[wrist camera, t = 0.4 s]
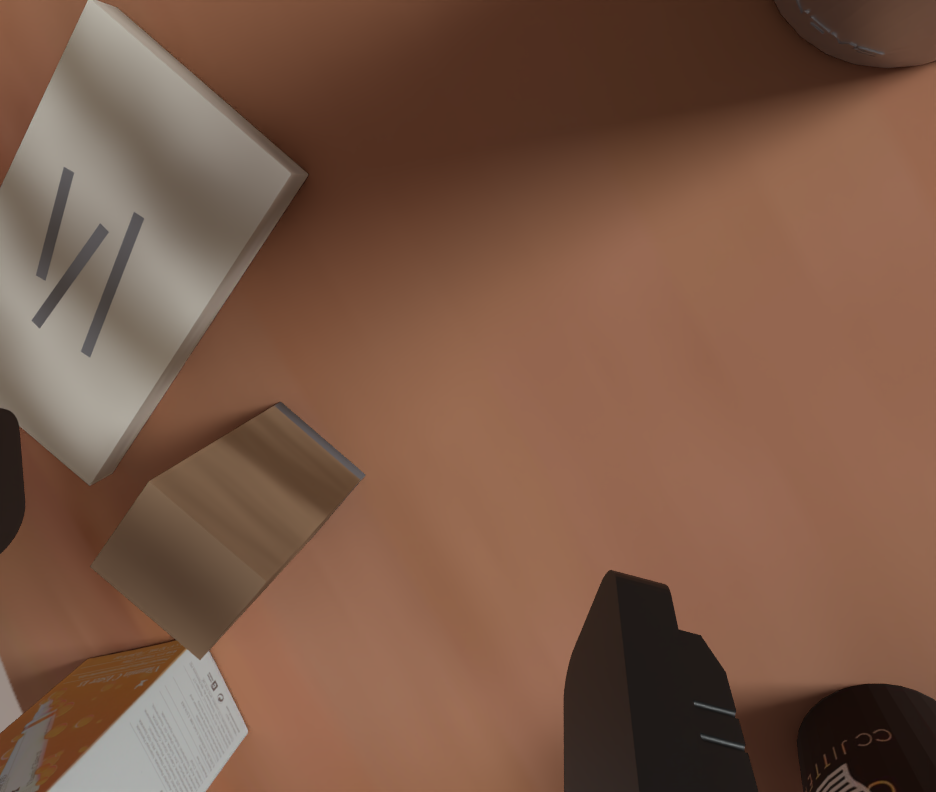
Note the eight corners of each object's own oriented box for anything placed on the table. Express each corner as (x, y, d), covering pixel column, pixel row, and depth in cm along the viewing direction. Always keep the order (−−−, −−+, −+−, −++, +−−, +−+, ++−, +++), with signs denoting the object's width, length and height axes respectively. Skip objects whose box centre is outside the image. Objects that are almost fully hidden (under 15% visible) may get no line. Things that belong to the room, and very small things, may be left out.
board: (117, 7, 27) (89, -3, 26) (308, 174, 27) (291, 173, 26) (-45, 339, 34) (-74, 346, 32) (112, 473, 34) (89, 485, 32)
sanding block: (280, 401, 31) (149, 481, 22) (365, 474, 31) (266, 581, 22) (230, 468, 32) (90, 567, 24) (311, 538, 32) (200, 660, 24)
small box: (203, 629, 35) (-21, 859, 23) (252, 731, 37) (64, 1001, 24) (84, 655, 38) (-175, 876, 26) (135, 750, 39) (-90, 1004, 27)
